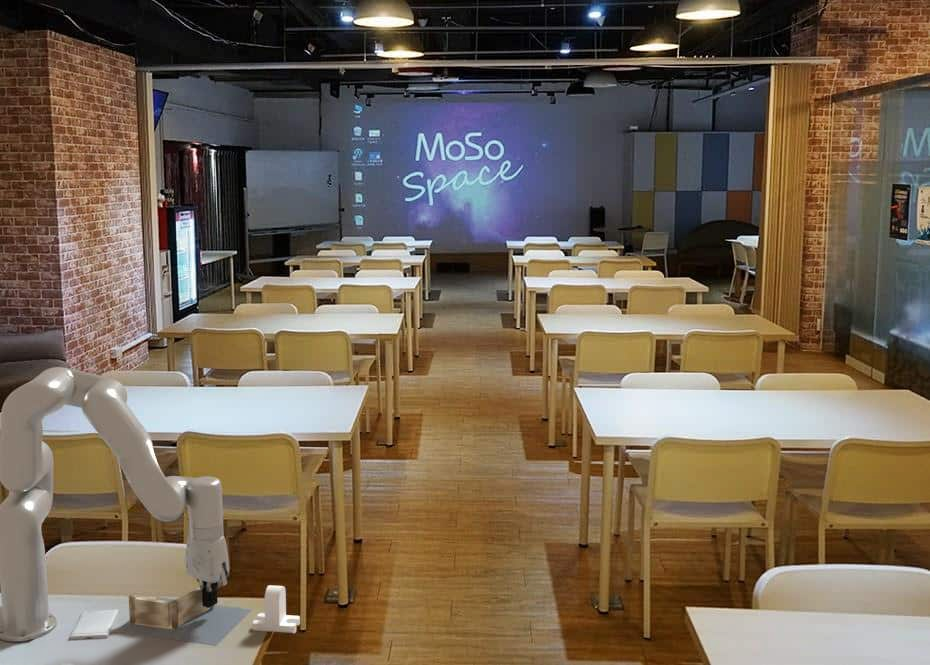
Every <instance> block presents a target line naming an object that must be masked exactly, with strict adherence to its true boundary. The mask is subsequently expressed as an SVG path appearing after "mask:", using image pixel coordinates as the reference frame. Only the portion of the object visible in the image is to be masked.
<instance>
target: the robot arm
mask: <svg viewBox="0 0 930 665" xmlns="http://www.w3.org/2000/svg"><path fill="white" fill-rule="evenodd" d="M127 400H128V392H127V389H126V387H125V386H124V385H123V384H122V383H121V382H119V381H117V379H114V378H110V377H107V376H103V375H99V374H94V373H90V372H86V371H82V370H81V371H80V370H78V369H74V368H69V367H61V366H58V367H57V366H54V367H50V368H47V369H45V370H43V371H42V372H40V373H39V375H37V376H36V377H34V378H33V379H31V380H30V381H28V382H27V383H24V384H23V385H21V386H19V387H17V388H16V389H14V390H13V391H12V392H11V393H9V395H8V396H7V397H6V399H5V400H4V402H3V404H2V408H1V412H0V483H1V484H2V486H3V487H4V488H5V489H7V490H8V491H9V492H8V496H7V497H6V498H5V499H4V500H3V501H2V502H1V503H0V598H1V605H0V640H2V641H5V642H15V643H17V642H27V641H31V640H32V641H33V640H35V639H39V638H41V637H44V636H46V635H48V634H50V633H51V632H52V631H53V630H55V628H56V627H57V624H58V622H57V617H56V616H55V615H54V614H52V613H50V611H49V597H48V596H49V594H48V592H49V591H48V579H47V578H48V577H47V576H48V574H47V561H46V550H45V542H44V537H43V535H42V534H43V533H42V526H43V525H42V524H43V523H44V521H45V519H46V518H47V516H48V515H49V513H50V511H51V510H52V509H51V508H52V505H53V499H54V496H53V495H54V466H55V465H54V455H53V452H52V450H51V448H50V446H49V445H48V444H47V443H46V442H45V441H44V440H43V435H44V434H43V422H42V421H43V419H44V418H45V417H46V416H48V415H51V414H53V413H56V412H57V411H59V410H60V409H62V408H63V407H64V406H65V405H67V406H71V407H76V408H80V409H81V410H82V413H83V415H84V416H85V418H86V419H87V421H88V423H89V424H90V425H91V426H92V428H93V429H94V430H95V432H96V433H97V434H98V436H100V437H101V439H102V440H103V442H104V443H105V444H106V445H107V447H108V448H109V449H110V451H111V452H112V453H113V455H114V457H115V458H116V460H117V461H118V464H119V466H120V469H121V470H122V472H123V474H124V476H125V478H126V480H127V482H128V484H129V486H130V487H131V489H132V491H133V493H134V494H135V496H136V497H137V499H138V500H139V501H140V502H141V503H142V504H143V506H144V508H145V509H146V510H147V512H148V513H149V514H150V515H152V517H154V518H155V519H157V520H158V521H161V522H173V521H174V520H176V519H178V518H179V517H180V516H181V515H182V514H183V512H184V510H185V507H186V508H187V509H188V519H189V522H188V526H189V534H188V535H187V540H186V546H185V570H186V571H185V572H186V574H187V575H188V576H189V577H191V578H194V579H195V580H196V581H197V582H198V586H199V588H200V589H201V590H202V603H203V606H204V607H207V608H209V607H211V606H213V605H218V602H219V601H218V589H219V588H221V587H225V586H227V585H228V580H227V578H228V577H229V575H230V560H229V553H228V552H229V551H228V546H227V542H226V538H225V536H224V535H225V531H224V508H223V488H222V487H223V486H222V482H221V480H220V479H219V478H217V477H215V476H208V475H207V476H206V475H204V476H199V477H191V476H190V477H188V476H179V475H170V476H169V475H168V476H165V474H164V472H163V471H162V469H161V467H160V465H159V463H158V461H157V457H156V455H155V448H154V444H153V441H152V437H151V435H150V433H149V432H148V431H147V430H146V428H145V427H144V426H143V425H142V422H141V421H139V419H138V418H137V417H136V415H135V414H134V413H133V411H132V410H131V408H130V407H129V406H128V404H127Z"/></svg>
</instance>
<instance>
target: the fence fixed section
mask: <svg viewBox="0 0 930 665" xmlns="http://www.w3.org/2000/svg"><path fill="white" fill-rule="evenodd" d="M155 599H156V598H155ZM155 599H153V598H147V597H146V598H145V597H138V594H135V593H134V594H129V596H128V610H129V612H128V613H129V620H130V623H131V624H135V623H137V624H144V625H152V626H159V627H166V628H169V627H170V626H171V612H170V601H162V600H155Z"/></svg>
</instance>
